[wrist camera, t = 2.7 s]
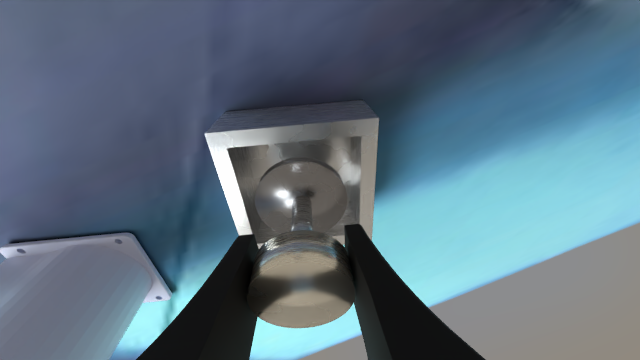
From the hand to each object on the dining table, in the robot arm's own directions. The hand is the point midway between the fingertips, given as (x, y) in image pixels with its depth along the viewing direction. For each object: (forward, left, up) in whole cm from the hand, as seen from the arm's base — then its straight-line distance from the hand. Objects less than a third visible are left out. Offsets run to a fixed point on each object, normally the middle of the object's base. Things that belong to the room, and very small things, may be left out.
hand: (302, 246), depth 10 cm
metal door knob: (0, 0, -4) cm, 4 cm away
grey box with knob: (0, -1, -7) cm, 7 cm away
